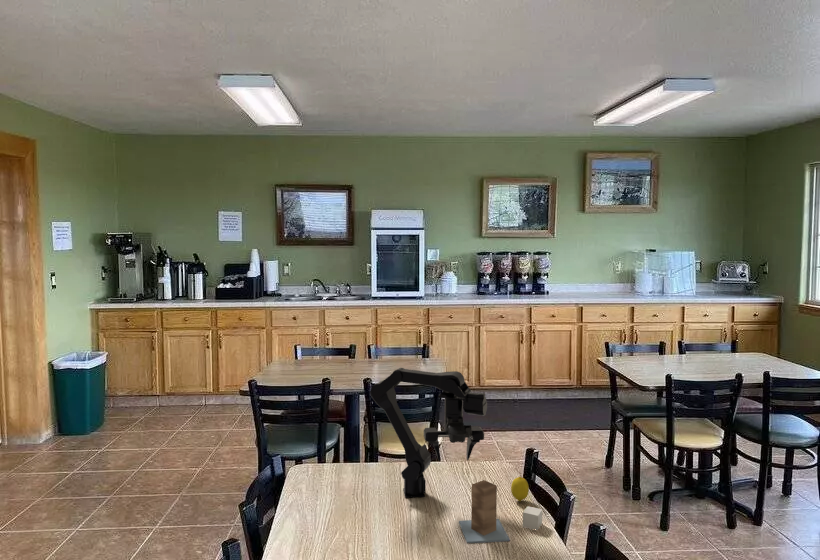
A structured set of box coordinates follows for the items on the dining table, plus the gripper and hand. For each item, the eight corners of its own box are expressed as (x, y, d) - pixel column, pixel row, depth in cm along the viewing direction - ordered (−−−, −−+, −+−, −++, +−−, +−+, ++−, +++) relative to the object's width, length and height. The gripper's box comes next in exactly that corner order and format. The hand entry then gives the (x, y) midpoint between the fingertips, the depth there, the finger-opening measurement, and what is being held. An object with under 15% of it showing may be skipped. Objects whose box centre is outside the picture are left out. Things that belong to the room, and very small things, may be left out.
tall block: (471, 528, 165) (471, 484, 164) (483, 523, 168) (484, 479, 167) (483, 535, 161) (484, 490, 160) (496, 530, 164) (496, 485, 163)
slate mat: (467, 543, 157) (467, 541, 157) (458, 522, 169) (458, 520, 169) (509, 541, 159) (509, 539, 159) (498, 520, 171) (498, 518, 171)
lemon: (528, 505, 180) (528, 480, 180) (510, 504, 181) (510, 479, 181) (528, 498, 186) (528, 474, 185) (511, 496, 187) (511, 472, 186)
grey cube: (522, 527, 167) (522, 512, 166) (527, 520, 171) (527, 506, 170) (537, 531, 165) (538, 515, 164) (542, 524, 168) (542, 509, 168)
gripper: (428, 420, 174) (427, 471, 175) (488, 418, 176) (488, 468, 177) (423, 410, 185) (423, 457, 186) (480, 408, 187) (479, 455, 188)
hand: (453, 460), depth 184 cm, fingers open, 9 cm apart
